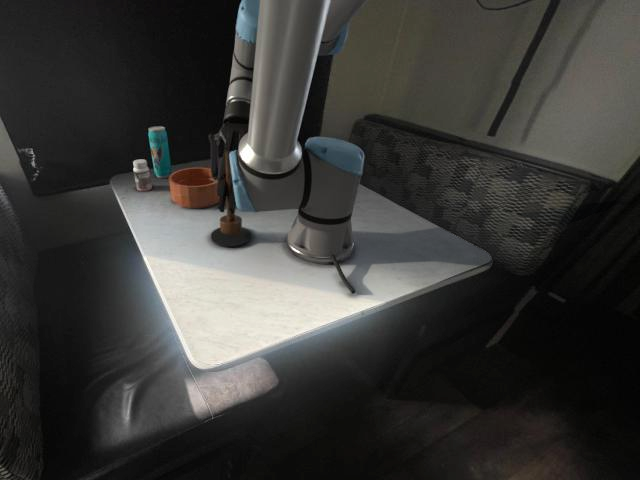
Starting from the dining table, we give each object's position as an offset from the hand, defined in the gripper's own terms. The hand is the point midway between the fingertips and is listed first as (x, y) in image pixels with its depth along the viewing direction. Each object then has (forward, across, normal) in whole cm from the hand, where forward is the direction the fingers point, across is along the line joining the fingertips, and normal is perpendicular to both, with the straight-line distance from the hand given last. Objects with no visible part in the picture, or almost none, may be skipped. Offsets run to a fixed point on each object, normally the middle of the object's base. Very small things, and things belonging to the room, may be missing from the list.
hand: (226, 210), depth 74 cm
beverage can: (-22, +33, -35) cm, 53 cm away
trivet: (+3, 0, -9) cm, 10 cm away
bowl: (-11, +15, -24) cm, 31 cm away
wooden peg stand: (+2, 0, -8) cm, 8 cm away
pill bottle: (-14, +34, -27) cm, 46 cm away
